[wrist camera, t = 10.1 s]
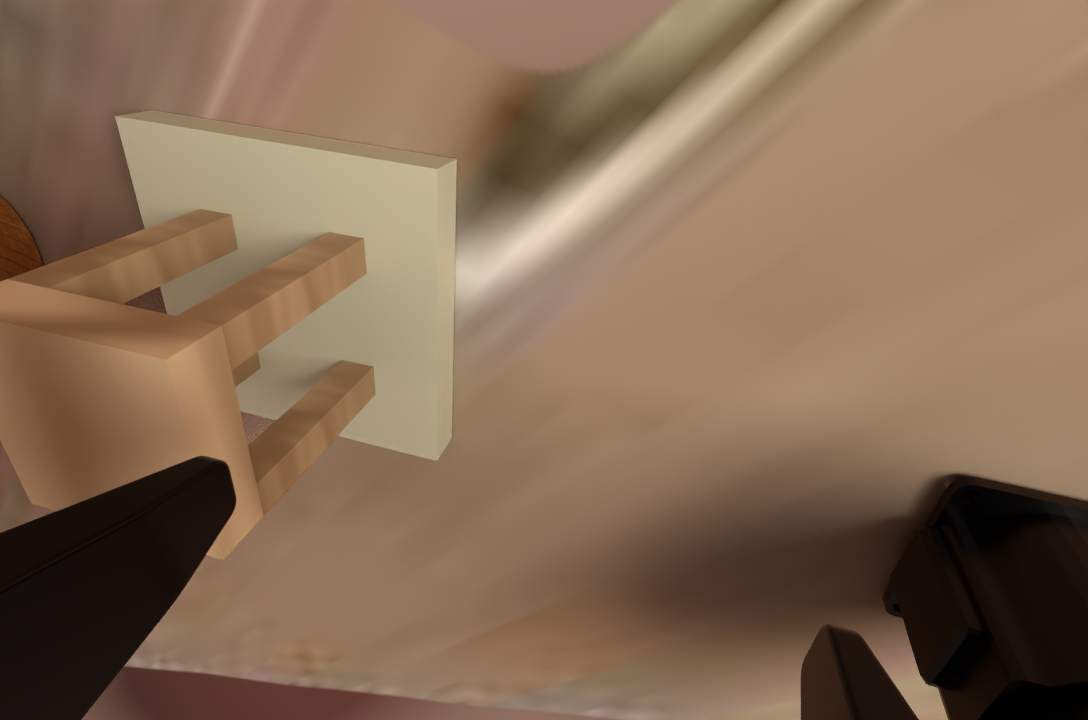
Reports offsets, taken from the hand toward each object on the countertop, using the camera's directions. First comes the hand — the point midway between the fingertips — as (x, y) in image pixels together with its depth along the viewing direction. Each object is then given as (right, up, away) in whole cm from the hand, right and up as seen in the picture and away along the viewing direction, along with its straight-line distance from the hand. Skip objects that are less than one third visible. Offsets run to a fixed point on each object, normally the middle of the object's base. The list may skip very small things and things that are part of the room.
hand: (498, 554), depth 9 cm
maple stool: (-8, +5, +12) cm, 15 cm away
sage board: (-8, +6, +13) cm, 17 cm away
